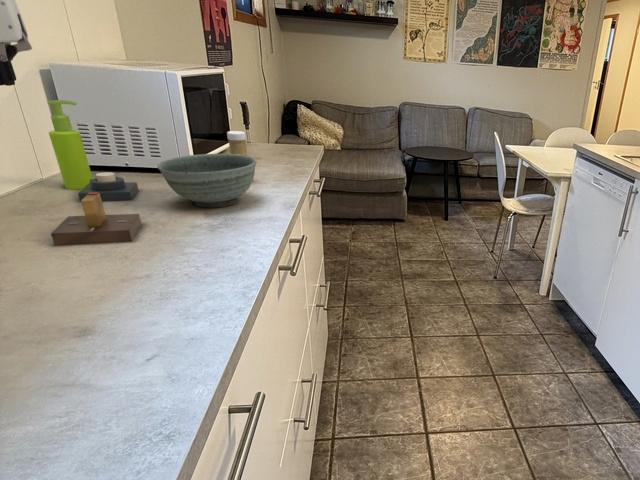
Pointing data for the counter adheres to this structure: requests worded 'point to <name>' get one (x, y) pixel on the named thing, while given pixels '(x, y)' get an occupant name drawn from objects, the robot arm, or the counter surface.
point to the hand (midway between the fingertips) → (6, 84)
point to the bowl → (209, 177)
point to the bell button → (105, 177)
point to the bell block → (111, 190)
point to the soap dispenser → (69, 149)
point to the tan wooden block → (93, 209)
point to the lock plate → (97, 230)
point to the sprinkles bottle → (237, 142)
